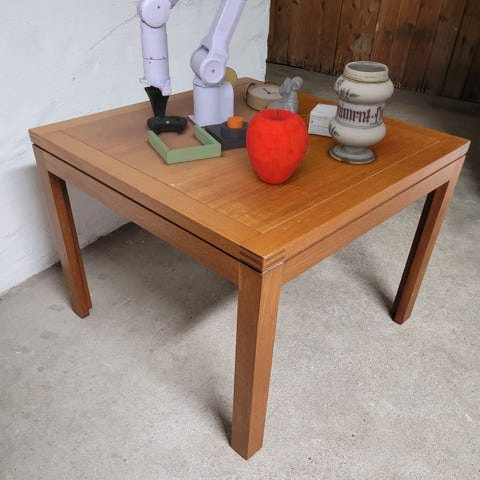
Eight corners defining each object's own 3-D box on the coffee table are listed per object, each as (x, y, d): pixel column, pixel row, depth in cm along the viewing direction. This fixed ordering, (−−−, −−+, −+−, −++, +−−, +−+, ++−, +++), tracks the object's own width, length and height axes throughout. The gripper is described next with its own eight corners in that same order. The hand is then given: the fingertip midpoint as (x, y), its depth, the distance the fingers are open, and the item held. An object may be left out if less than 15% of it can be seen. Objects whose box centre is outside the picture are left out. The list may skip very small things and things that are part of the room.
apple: (307, 171, 104) (315, 103, 95) (300, 196, 95) (307, 123, 87) (251, 165, 106) (253, 97, 97) (238, 188, 97) (240, 116, 88)
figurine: (261, 116, 130) (263, 71, 124) (300, 120, 129) (304, 74, 122) (255, 127, 124) (257, 79, 117) (296, 130, 122) (300, 83, 116)
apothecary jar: (318, 160, 109) (330, 69, 97) (331, 141, 117) (344, 56, 106) (375, 170, 105) (394, 76, 94) (384, 150, 114) (402, 62, 103)
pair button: (224, 125, 114) (224, 117, 113) (239, 123, 115) (239, 115, 114) (231, 130, 111) (231, 122, 110) (246, 128, 112) (246, 120, 111)
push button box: (205, 135, 119) (204, 117, 116) (240, 130, 122) (240, 113, 119) (222, 150, 112) (222, 132, 109) (259, 145, 115) (260, 127, 112)
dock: (198, 135, 119) (198, 124, 117) (221, 156, 109) (221, 144, 108) (148, 142, 114) (147, 130, 113) (167, 164, 105) (167, 152, 103)
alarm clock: (258, 102, 130) (237, 76, 138) (256, 120, 133) (235, 94, 142) (297, 98, 133) (274, 73, 142) (294, 116, 137) (271, 90, 146)
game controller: (186, 120, 123) (187, 107, 118) (188, 141, 123) (189, 129, 117) (146, 121, 122) (145, 108, 116) (148, 142, 122) (147, 131, 116)
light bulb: (225, 113, 131) (225, 71, 125) (208, 107, 134) (207, 66, 128) (242, 108, 135) (243, 67, 129) (224, 102, 138) (224, 62, 132)
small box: (306, 133, 121) (309, 111, 118) (315, 124, 127) (318, 102, 123) (339, 139, 119) (342, 116, 116) (346, 128, 125) (350, 107, 121)
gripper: (129, 50, 117) (135, 111, 126) (147, 65, 107) (152, 130, 116) (158, 49, 120) (162, 108, 128) (179, 63, 110) (181, 127, 118)
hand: (159, 118), depth 122 cm, fingers closed
